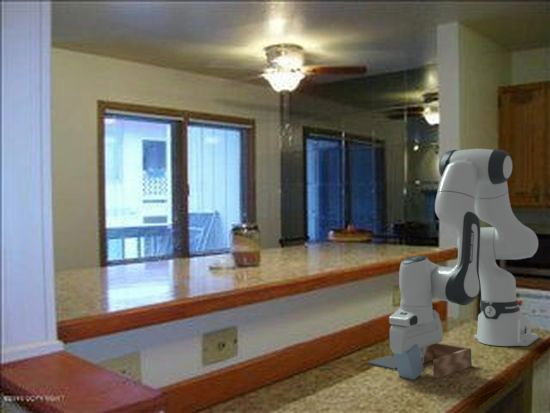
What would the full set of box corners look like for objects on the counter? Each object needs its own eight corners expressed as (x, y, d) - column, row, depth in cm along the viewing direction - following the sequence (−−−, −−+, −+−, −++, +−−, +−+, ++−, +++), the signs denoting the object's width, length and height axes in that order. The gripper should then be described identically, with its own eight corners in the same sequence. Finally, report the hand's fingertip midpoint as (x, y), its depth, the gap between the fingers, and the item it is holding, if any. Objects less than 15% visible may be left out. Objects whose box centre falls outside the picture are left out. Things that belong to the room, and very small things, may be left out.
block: (409, 367, 161) (402, 341, 159) (424, 370, 157) (417, 344, 155) (399, 376, 158) (392, 350, 156) (414, 380, 154) (407, 353, 152)
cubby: (432, 357, 175) (432, 341, 175) (471, 365, 165) (471, 348, 165) (398, 369, 164) (397, 352, 164) (437, 378, 154) (436, 360, 154)
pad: (388, 357, 177) (388, 355, 177) (414, 363, 170) (414, 361, 170) (367, 363, 171) (367, 361, 171) (393, 370, 163) (393, 368, 163)
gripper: (428, 307, 168) (430, 354, 168) (384, 318, 155) (387, 369, 155) (447, 310, 164) (449, 358, 164) (403, 321, 150) (405, 373, 150)
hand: (418, 363), depth 159 cm, fingers closed
